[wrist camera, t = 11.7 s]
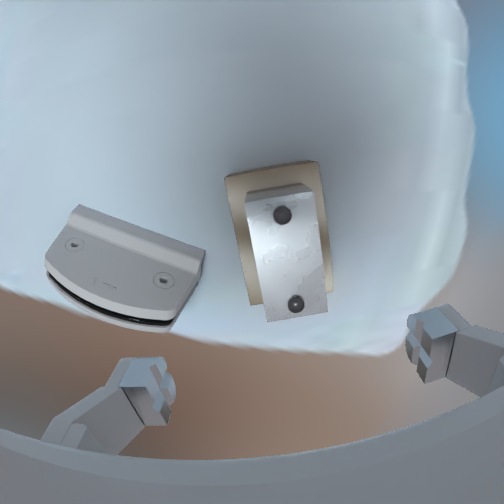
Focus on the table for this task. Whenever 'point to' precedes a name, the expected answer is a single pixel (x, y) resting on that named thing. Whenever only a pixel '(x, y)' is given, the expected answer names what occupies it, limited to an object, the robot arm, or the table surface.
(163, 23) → the table surface
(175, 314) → the hinge
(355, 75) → the table surface
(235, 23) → the table surface
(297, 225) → the block
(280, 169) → the stand
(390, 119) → the table surface
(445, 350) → the robot arm
